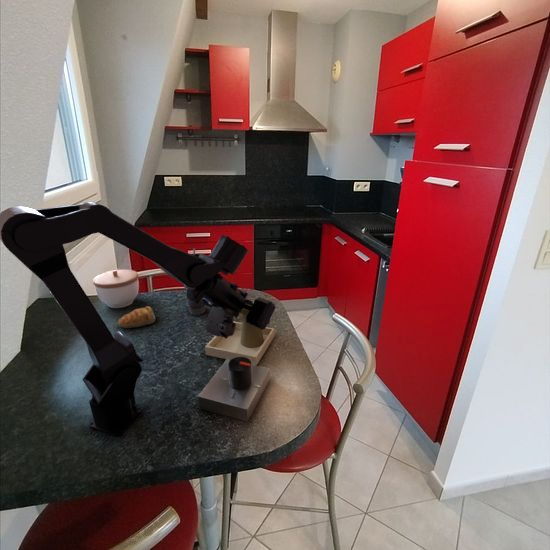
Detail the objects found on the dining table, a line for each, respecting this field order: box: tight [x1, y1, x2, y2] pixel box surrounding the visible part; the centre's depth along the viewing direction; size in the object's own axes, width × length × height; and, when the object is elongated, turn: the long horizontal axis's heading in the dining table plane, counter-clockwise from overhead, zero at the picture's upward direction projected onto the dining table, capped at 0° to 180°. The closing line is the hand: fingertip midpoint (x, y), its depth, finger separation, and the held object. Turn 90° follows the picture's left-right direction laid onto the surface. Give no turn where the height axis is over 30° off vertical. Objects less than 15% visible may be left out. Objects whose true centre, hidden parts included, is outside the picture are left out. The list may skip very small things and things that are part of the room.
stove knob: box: [228, 357, 252, 390], centre depth 62 cm, size 4×4×5 cm
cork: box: [240, 299, 264, 348], centre depth 80 cm, size 6×6×11 cm
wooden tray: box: [204, 320, 276, 366], centre depth 80 cm, size 13×13×2 cm
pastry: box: [117, 305, 156, 329], centre depth 90 cm, size 9×7×4 cm
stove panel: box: [197, 359, 271, 422], centre depth 64 cm, size 12×10×3 cm
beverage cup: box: [183, 248, 206, 316], centre depth 93 cm, size 7×7×20 cm
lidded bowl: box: [92, 269, 140, 309], centre depth 100 cm, size 13×13×11 cm
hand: (254, 316), depth 80 cm, fingers open, 9 cm apart
